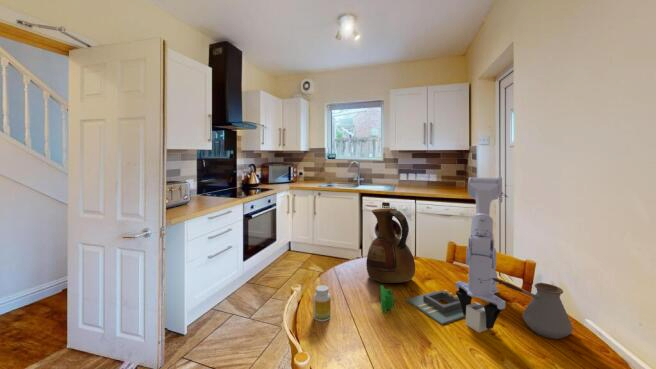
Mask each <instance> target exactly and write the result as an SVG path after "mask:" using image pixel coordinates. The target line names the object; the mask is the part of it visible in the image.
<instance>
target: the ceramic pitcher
mask: <svg viewBox="0 0 656 369" xmlns="http://www.w3.org/2000/svg"><path fill="white" fill-rule="evenodd" d="M371 212H372V214H373V215H374V217H375V219H376V222H377V227H378V233H377V236H376V237H375V238H374V240H372V242H371V243H370V246H369V248H368V252H367V256H366V262H365V263H366V265H365V266H366V271H367V274H368V276H369V278H370V279H373V280H375V281H378V282H381V283H389V284H390V283H391V284H396V283H404V282H409V281H411V280H412V279H413V278H414V277H415V273H416V263H415V258H414V256H413V253H412V251H411V248H409V246H408V245H407V240H408V236H409V233H410V232H409V230H410V228H409V222H408V220H407V218H406V216H405V215H404V214H403V213H402V212H401V211H399V210H398V209H397V208H395V207H394V208H393V207H392V208H391V207H390V208H388V207H387V208H376V209H372V210H371ZM393 217H394V218H395V219H396V220H397V221H398V223H399V224H400V228H401V236H400V237H399V236H397V235H396V233H395V231H394V227H393Z"/></svg>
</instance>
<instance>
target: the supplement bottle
mask: <svg viewBox="0 0 656 369" xmlns="http://www.w3.org/2000/svg"><path fill="white" fill-rule="evenodd" d="M331 304H332V302H331V294H330V293H329V286H327V285H322V284H321V285H318V286H316V287H315V293H314V294H313V318H314V320H315V321H317V322H326V321H328V320H330V318H331V313H332V312H331V308H332V307H331Z"/></svg>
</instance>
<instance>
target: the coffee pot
mask: <svg viewBox="0 0 656 369" xmlns="http://www.w3.org/2000/svg"><path fill="white" fill-rule="evenodd" d="M491 279H493V280H494V283H495V281H496V282H497V283H498V284H499V285H503V286H505V287H506V288H508V289H511V290H513V291H516V292H519V293H522V294H524V295H526V296H528V297H531V300H530V302H529V304H527V306H526V308H525V309H524V310H523V312H522V313H521V314H522V319H523V320H524V322H525V324H526V325H527V326H528V327H529V328H530V329H531V330H532V331H533V332H535V333H536V334H538V335H540V336H542V337H545V338H550V339H555V340H557V339H558V340H559V339H563V338H565V337H568V336H569V335H571V334H572V332H573V331H574V330H573V329H574V327H573V324H572V322H571V320H570V318H569V315H568V313H567V311H566V309H565V307H564V303H563V301H562V299H561V295H562V294H563V293H564V290H563V289H562V288H561V287H559V286H557V285H554V284H550V283H546V282H545V283H544V282H537V283H535V284H534V288H536V291H537V292H536V293H535V294H533V293H531V292H528V291H526V290H523V289H522V288H520V287H517V286H515V285H513V284H512V283H509V282H507V281H503V280H502V279H498V278H497V279H496V278H491ZM494 283H493V284H494Z"/></svg>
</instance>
